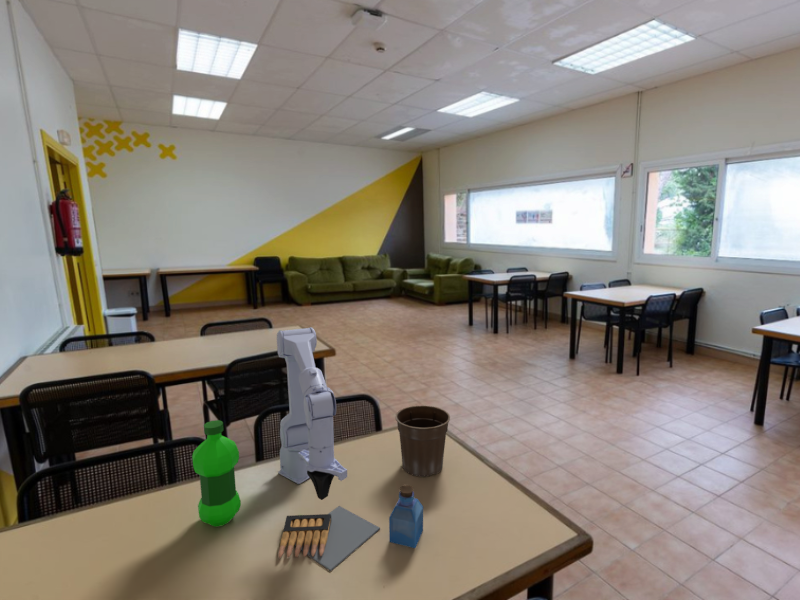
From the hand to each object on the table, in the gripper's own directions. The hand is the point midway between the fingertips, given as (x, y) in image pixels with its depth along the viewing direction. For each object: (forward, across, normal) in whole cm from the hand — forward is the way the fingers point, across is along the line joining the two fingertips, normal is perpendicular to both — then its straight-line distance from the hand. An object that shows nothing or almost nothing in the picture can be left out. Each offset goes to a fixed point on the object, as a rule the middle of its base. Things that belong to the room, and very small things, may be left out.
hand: (323, 496), depth 101 cm
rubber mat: (+8, +4, 0) cm, 9 cm away
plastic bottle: (+9, -23, -13) cm, 28 cm away
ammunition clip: (+7, -4, -1) cm, 8 cm away
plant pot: (+9, +3, +37) cm, 38 cm away
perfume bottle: (+9, +17, +10) cm, 22 cm away
